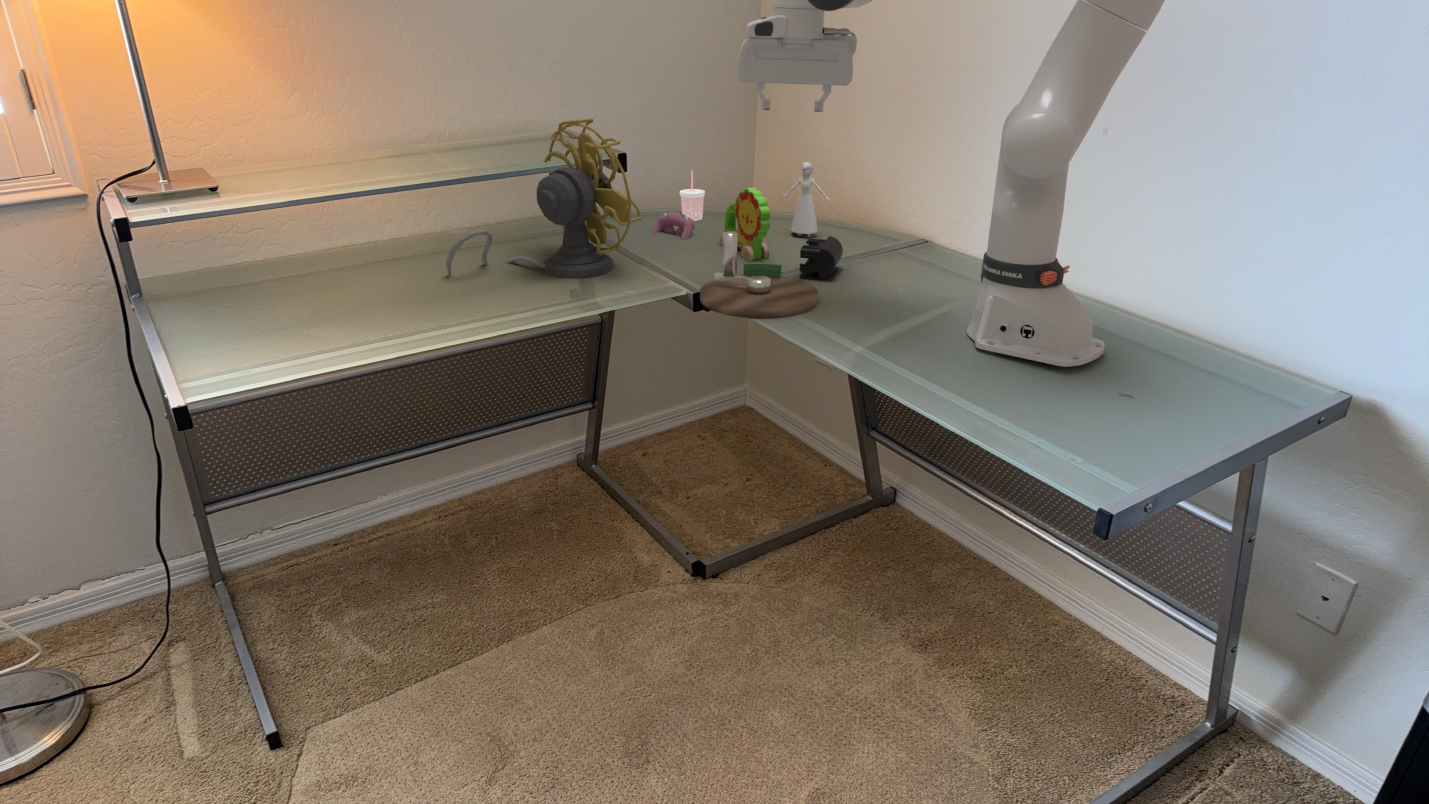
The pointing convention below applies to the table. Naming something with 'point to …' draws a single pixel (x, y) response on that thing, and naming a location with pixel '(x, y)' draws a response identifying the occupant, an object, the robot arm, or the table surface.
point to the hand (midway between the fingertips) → (791, 110)
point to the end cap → (820, 258)
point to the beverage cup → (692, 202)
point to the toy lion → (749, 223)
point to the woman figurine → (805, 204)
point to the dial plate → (760, 295)
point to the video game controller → (674, 224)
